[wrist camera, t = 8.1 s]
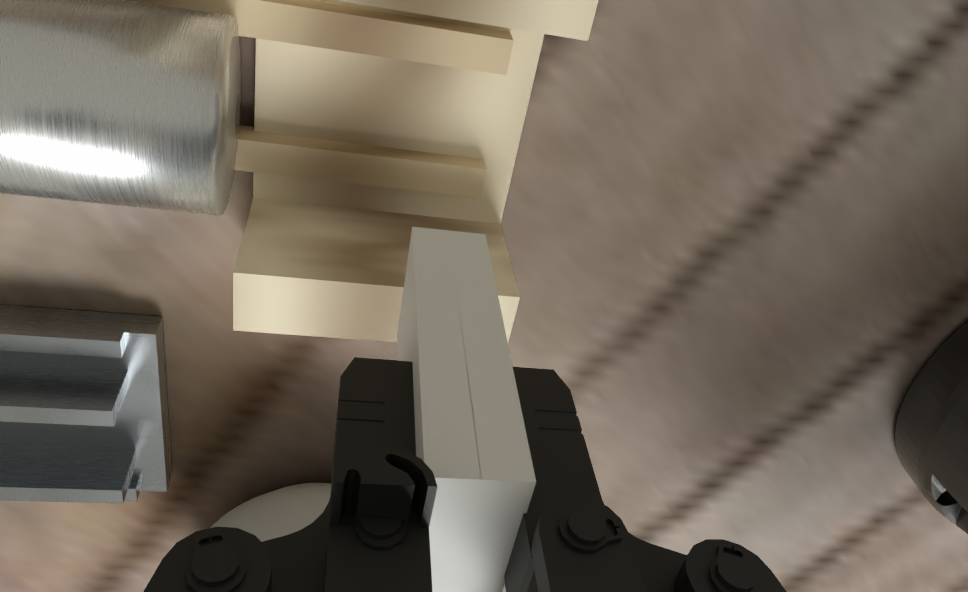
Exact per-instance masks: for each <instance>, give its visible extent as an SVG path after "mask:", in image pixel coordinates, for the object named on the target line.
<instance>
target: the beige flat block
mask: <svg viewBox="0 0 968 592" xmlns="http://www.w3.org/2000/svg"><path fill="white" fill-rule="evenodd" d="M133 1H140V2H146V3H153V4H159V5H166V6H173V7H179V8H186V9H192V10H199V11H205V12H212V13H218V14H225V15H231V16H233V17H234V18H235V20H236V23H237V28H238V34H239V36H245V37H251V38H256V66H255V121H254V127H252V126H244V125H239V136H238V147H237V156H236V164H235V170H238V171H247V172H254V176H253V200H252V204H251V207H250V211H249V215H248V219H247V223H246V226H245V230H244V234H243V238H242V242H241V245H240V249H239V253H238V257H237V261H236V264H235V268H234V272H233V331H247V332H261V333H275V334H289V335H303V336H317V337H331V338H345V339H359V340H373V341H387V342H397V331H398V324H399V317H400V310H401V303H402V296H403V289H404V281H405V274H406V267H407V260H408V253H409V246H410V239H411V232H412V227H420V228H430V229H439V230H449V231H459V232H468V233H478V234H485V235H486V240H487V244H488V249H489V254H490V259H491V264H492V269H493V274H494V279H495V283H496V288H497V293H498V298H499V303H500V308H501V313H502V318H503V322H504V327H505V332H506V337H507V342H508V341H509V337H510V333H511V330H512V326H513V322H514V318H515V314H516V311H517V307H518V303H519V299H520V295H519V292H518V288H517V284H516V280H515V276H514V273H513V269H512V265H511V261H510V258H509V254H508V250H507V246H506V242H505V239H504V235H503V231H502V227H501V220H502V216H503V211H504V207H505V203H506V198H507V194H508V190H509V185H510V181H511V177H512V172H513V168H514V164H515V159H516V155H517V151H518V146H519V142H520V138H521V133H522V129H523V125H524V120H525V116H526V112H527V107H528V103H529V99H530V94H531V90H532V86H533V82H534V77H535V73H536V69H537V64H538V60H539V56H540V51H541V47H542V43H543V38H544V34H548V35H554V36H560V37H566V38H573V39H579V40H585V41H588V39H589V35H590V31H591V27H592V24H593V20H594V16H595V12H596V8H597V5H598V1H599V0H133Z"/></svg>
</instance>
